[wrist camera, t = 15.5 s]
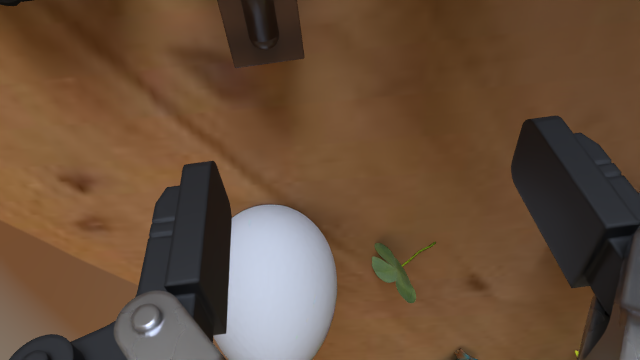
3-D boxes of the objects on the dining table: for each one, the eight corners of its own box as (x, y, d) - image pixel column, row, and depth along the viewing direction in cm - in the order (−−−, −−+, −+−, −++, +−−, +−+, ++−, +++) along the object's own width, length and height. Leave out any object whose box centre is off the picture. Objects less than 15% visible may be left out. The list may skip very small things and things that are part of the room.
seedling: (398, 216, 55) (357, 247, 53) (436, 211, 48) (389, 247, 45) (428, 266, 56) (389, 299, 53) (471, 269, 48) (426, 307, 46)
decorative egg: (237, 276, 52) (234, 418, 41) (183, 210, 43) (162, 367, 33) (341, 248, 50) (366, 389, 39) (307, 173, 42) (326, 327, 31)
